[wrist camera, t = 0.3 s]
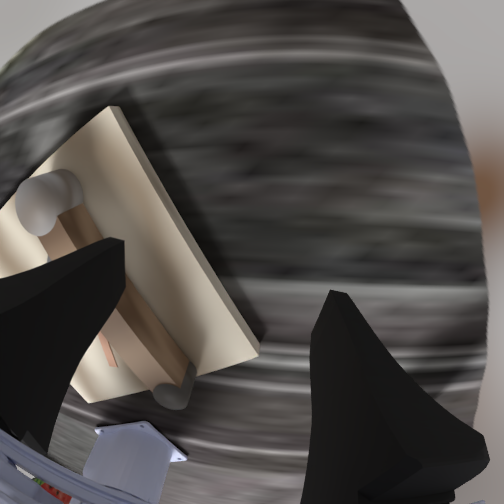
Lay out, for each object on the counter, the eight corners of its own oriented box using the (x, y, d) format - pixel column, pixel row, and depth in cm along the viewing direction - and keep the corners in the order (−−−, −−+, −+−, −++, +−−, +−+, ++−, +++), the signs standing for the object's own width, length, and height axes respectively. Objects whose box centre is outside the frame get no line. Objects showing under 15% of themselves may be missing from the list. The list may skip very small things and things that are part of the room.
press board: (93, 393, 29) (88, 403, 27) (-17, 238, 22) (-27, 244, 21) (259, 344, 24) (258, 357, 22) (119, 106, 18) (108, 105, 16)
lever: (37, 187, 18) (7, 198, 15) (67, 158, 17) (37, 166, 14) (172, 384, 24) (162, 413, 21) (208, 374, 23) (201, 404, 20)
